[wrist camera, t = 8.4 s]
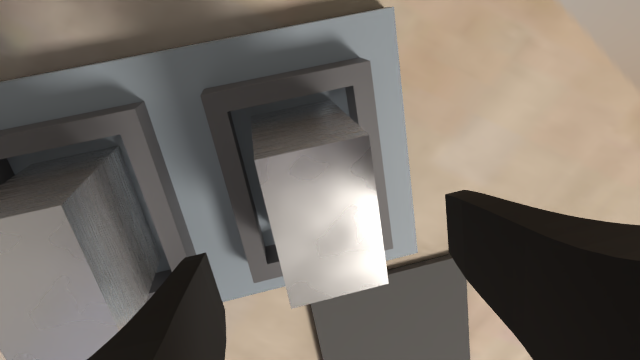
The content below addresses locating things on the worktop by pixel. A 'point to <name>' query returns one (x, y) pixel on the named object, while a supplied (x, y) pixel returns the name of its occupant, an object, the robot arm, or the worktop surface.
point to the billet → (71, 256)
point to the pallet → (220, 133)
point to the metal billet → (320, 200)
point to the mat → (399, 317)
